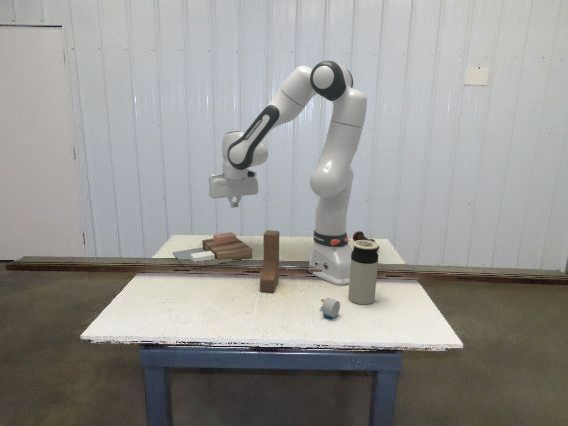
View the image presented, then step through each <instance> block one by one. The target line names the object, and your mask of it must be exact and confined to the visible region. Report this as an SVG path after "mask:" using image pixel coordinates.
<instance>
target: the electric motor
mask: <svg viewBox="0 0 568 426" xmlns="http://www.w3.org/2000/svg"><path fill="white" fill-rule="evenodd" d="M321 302H322V306H321V307H320V308H319V312H321V313H322V314H323V317H327V318H329V319H334V318H335V317H337V316H338V314H339V312H340V309H341V302H340V301H339V300H336V299H333V298H330V297H327V298H321Z"/></svg>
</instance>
